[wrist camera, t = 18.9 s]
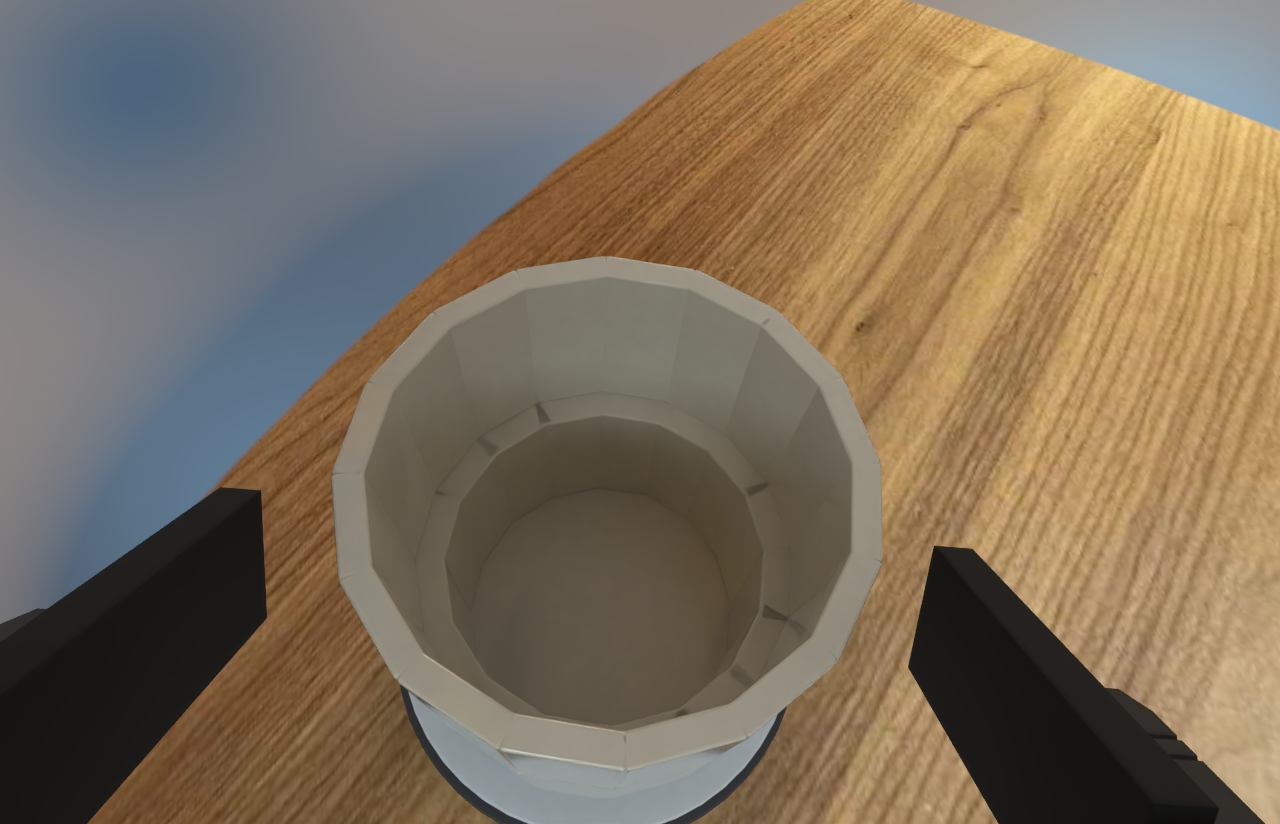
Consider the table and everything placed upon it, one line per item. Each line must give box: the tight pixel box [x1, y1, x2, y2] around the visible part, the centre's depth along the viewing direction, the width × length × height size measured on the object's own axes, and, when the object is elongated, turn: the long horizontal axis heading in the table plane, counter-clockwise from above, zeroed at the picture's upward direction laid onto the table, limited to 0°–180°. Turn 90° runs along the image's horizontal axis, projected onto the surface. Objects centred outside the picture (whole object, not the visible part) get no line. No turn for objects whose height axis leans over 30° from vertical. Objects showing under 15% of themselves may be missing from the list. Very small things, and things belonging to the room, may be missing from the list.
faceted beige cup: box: [331, 256, 883, 800], centre depth 19 cm, size 10×10×11 cm
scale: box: [400, 685, 787, 824], centre depth 26 cm, size 13×13×4 cm
